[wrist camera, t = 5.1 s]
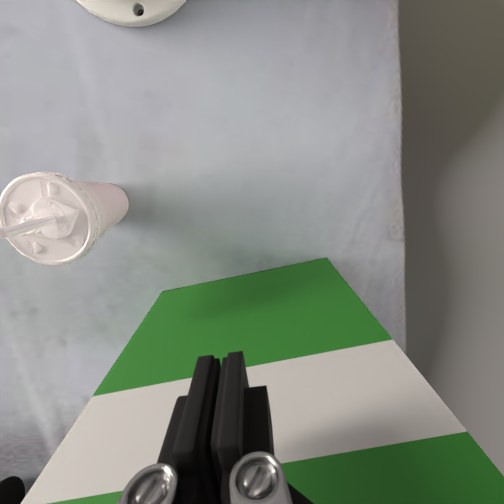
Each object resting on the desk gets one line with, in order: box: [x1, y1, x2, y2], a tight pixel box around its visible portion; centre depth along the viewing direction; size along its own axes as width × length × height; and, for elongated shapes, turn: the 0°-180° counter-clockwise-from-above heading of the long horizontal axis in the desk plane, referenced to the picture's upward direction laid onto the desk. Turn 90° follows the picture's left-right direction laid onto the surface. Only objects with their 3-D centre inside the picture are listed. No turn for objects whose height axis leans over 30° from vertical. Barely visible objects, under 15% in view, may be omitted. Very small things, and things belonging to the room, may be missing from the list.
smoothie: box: [0, 172, 129, 265], centre depth 23 cm, size 6×6×14 cm
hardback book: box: [21, 258, 504, 504], centre depth 21 cm, size 18×7×24 cm, turn 102°
